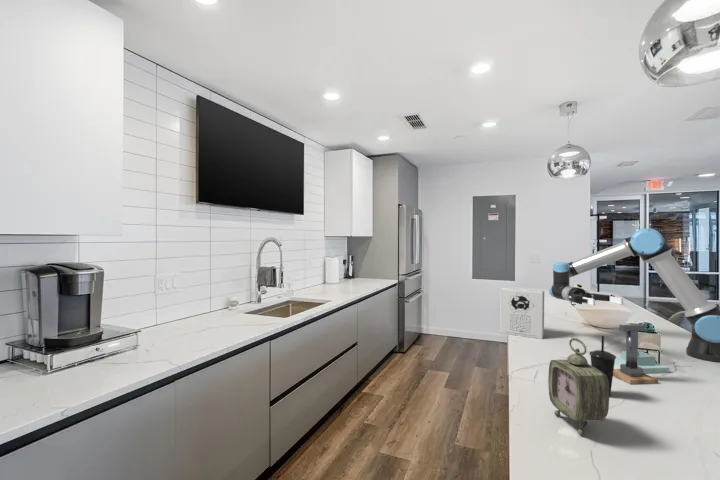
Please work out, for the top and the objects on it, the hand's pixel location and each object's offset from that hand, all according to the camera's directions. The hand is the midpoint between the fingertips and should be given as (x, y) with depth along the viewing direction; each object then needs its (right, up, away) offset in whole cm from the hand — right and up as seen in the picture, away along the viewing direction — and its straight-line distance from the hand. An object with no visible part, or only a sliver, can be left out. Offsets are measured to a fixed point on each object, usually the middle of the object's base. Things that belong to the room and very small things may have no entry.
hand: (608, 301), depth 159 cm
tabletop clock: (-47, -26, -55) cm, 77 cm away
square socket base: (+7, -26, -8) cm, 28 cm away
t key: (-5, -24, -20) cm, 32 cm away
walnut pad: (-5, -26, -20) cm, 33 cm away
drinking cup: (-26, -26, -34) cm, 50 cm away
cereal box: (-20, -25, +41) cm, 52 cm away
